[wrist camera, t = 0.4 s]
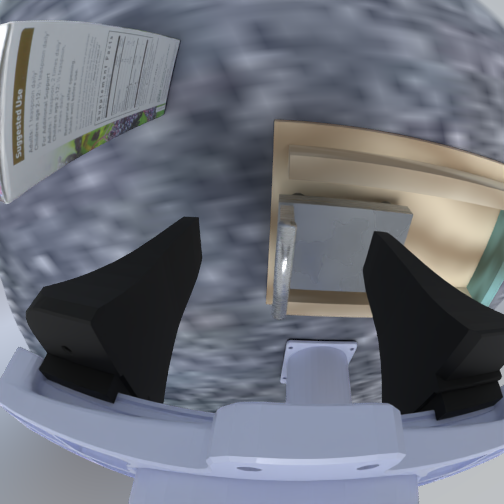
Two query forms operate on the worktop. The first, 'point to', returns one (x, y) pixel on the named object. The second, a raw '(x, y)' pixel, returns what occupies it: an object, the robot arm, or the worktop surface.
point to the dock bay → (396, 203)
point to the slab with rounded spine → (328, 243)
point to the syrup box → (73, 92)
